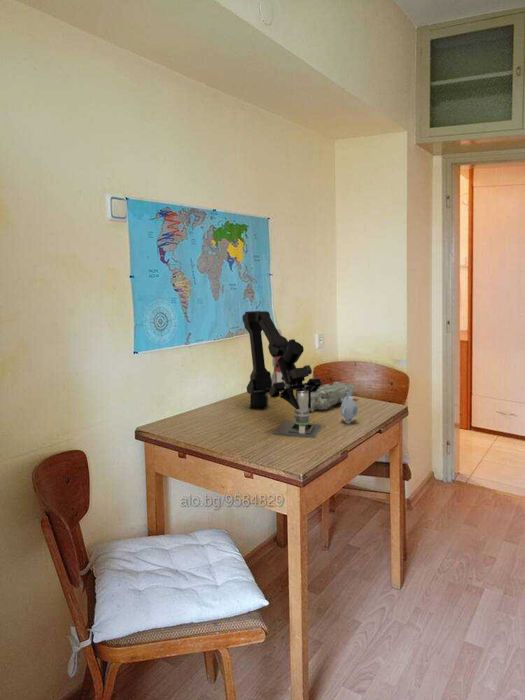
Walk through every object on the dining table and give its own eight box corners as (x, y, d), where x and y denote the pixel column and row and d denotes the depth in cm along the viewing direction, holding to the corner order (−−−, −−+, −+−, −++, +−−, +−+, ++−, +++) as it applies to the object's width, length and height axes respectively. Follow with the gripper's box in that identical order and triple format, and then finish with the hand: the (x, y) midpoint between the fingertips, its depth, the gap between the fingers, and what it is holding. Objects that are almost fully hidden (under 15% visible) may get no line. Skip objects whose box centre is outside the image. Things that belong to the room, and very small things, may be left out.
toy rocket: (290, 392, 241) (291, 326, 236) (294, 399, 230) (294, 330, 224) (264, 392, 241) (264, 327, 236) (266, 399, 229) (266, 330, 224)
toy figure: (349, 427, 191) (350, 395, 189) (334, 424, 194) (334, 392, 192) (362, 420, 199) (363, 389, 197) (347, 417, 203) (348, 387, 201)
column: (292, 428, 184) (293, 391, 181) (296, 424, 189) (296, 388, 186) (307, 430, 182) (307, 392, 180) (310, 425, 187) (311, 389, 185)
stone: (365, 375, 222) (316, 396, 203) (365, 398, 225) (318, 422, 206) (342, 369, 231) (294, 389, 212) (343, 391, 234) (295, 414, 215)
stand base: (274, 434, 184) (274, 424, 183) (283, 423, 195) (283, 414, 195) (314, 438, 180) (314, 428, 179) (321, 427, 191) (321, 417, 191)
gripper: (272, 360, 181) (288, 399, 173) (319, 355, 189) (336, 392, 181) (262, 377, 189) (277, 416, 181) (308, 372, 197) (323, 409, 189)
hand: (304, 408), depth 183 cm, fingers closed on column, 4 cm apart
